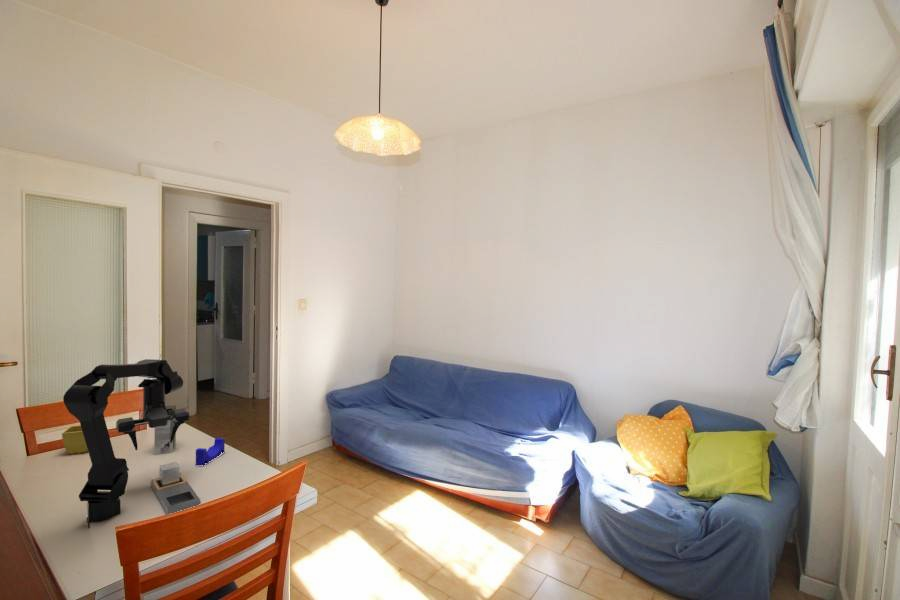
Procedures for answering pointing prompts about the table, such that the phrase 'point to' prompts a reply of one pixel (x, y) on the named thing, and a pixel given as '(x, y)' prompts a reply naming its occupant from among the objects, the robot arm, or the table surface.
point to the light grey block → (169, 474)
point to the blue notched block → (210, 452)
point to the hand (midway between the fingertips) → (153, 446)
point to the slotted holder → (175, 495)
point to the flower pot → (74, 440)
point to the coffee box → (164, 438)
